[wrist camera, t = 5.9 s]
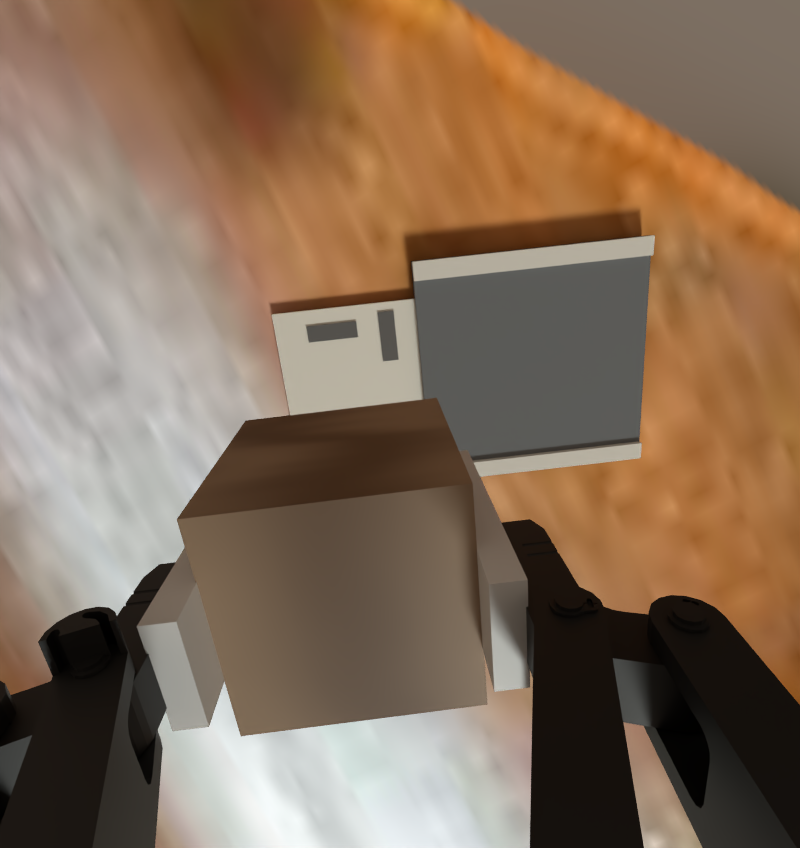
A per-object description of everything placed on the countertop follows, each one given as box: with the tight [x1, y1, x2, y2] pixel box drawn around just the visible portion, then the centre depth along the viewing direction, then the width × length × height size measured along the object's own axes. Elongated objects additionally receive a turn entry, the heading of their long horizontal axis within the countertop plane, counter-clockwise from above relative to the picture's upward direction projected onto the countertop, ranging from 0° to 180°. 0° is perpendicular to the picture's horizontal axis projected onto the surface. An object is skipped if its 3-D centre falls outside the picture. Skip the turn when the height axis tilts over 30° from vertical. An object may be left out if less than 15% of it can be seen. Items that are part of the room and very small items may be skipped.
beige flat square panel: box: [272, 298, 424, 415], centre depth 30 cm, size 9×9×1 cm
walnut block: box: [177, 398, 487, 736], centre depth 14 cm, size 6×6×6 cm
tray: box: [411, 235, 655, 477], centre depth 30 cm, size 13×13×1 cm
